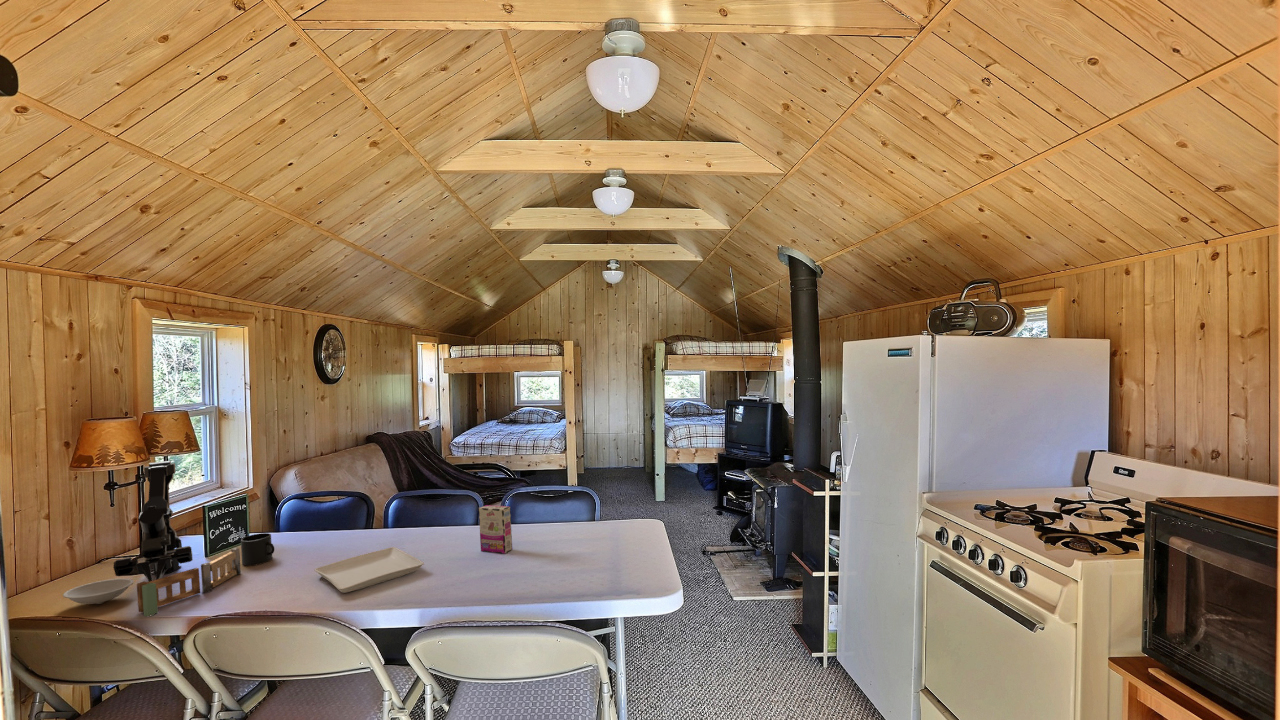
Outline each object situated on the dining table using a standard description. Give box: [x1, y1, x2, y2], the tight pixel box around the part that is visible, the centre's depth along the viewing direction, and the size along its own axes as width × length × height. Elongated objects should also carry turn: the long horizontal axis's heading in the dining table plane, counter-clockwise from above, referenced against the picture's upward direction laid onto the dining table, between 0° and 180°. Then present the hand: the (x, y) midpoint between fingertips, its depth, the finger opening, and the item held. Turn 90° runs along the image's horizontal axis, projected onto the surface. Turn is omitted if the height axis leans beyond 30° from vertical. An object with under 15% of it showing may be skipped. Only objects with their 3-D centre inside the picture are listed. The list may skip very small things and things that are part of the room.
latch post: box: [142, 583, 159, 617], centre depth 173 cm, size 2×2×9 cm
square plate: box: [314, 546, 425, 594], centre depth 197 cm, size 27×27×4 cm
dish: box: [62, 578, 135, 605], centre depth 183 cm, size 18×14×5 cm
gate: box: [136, 567, 201, 613], centre depth 180 cm, size 15×2×8 cm, turn 149°
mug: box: [240, 532, 275, 566], centre depth 216 cm, size 9×12×9 cm
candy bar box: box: [478, 504, 513, 554], centre depth 216 cm, size 11×5×16 cm, turn 68°
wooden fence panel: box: [200, 547, 242, 594], centre depth 196 cm, size 2×17×9 cm, turn 1°
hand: (153, 585), depth 178 cm, fingers closed
